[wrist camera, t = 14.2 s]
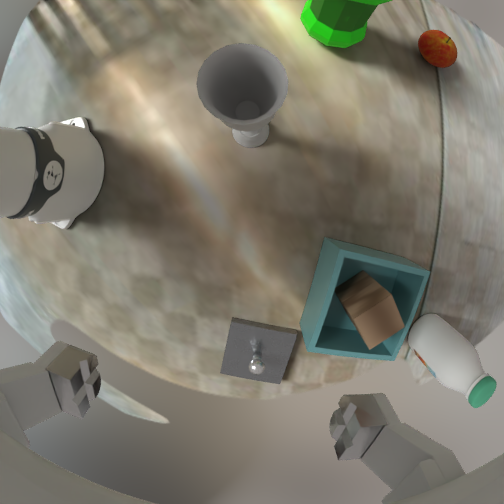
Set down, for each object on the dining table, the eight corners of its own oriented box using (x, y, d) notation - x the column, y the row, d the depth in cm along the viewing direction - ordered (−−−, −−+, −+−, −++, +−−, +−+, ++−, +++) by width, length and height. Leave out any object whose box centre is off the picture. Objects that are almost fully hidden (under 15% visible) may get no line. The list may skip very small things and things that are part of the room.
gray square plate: (221, 368, 43) (216, 389, 38) (232, 317, 41) (228, 335, 36) (279, 378, 43) (281, 400, 38) (296, 329, 41) (300, 349, 36)
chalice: (283, 146, 36) (302, 109, 18) (235, 162, 36) (213, 138, 19) (265, 99, 34) (267, 34, 17) (218, 115, 35) (185, 60, 17)
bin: (299, 323, 41) (307, 351, 33) (324, 237, 38) (339, 248, 30) (375, 335, 41) (394, 360, 33) (403, 257, 38) (430, 271, 30)
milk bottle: (401, 330, 41) (461, 401, 21) (434, 303, 40) (505, 360, 20) (413, 356, 42) (465, 425, 23) (444, 332, 41) (504, 390, 22)
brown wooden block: (347, 315, 39) (369, 349, 30) (333, 288, 39) (353, 319, 29) (376, 297, 39) (404, 326, 29) (362, 270, 38) (391, 294, 28)
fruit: (446, 77, 31) (472, 63, 23) (415, 66, 31) (439, 50, 23) (438, 45, 29) (461, 30, 22) (408, 35, 30) (428, 15, 22)
